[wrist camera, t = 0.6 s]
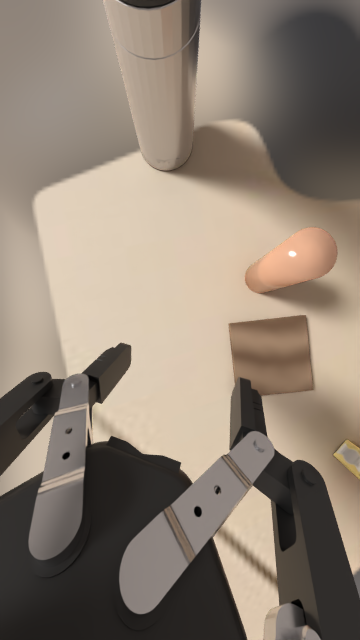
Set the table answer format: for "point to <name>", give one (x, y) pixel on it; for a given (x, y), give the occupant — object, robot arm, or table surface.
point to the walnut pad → (272, 354)
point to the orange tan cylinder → (293, 261)
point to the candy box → (349, 457)
